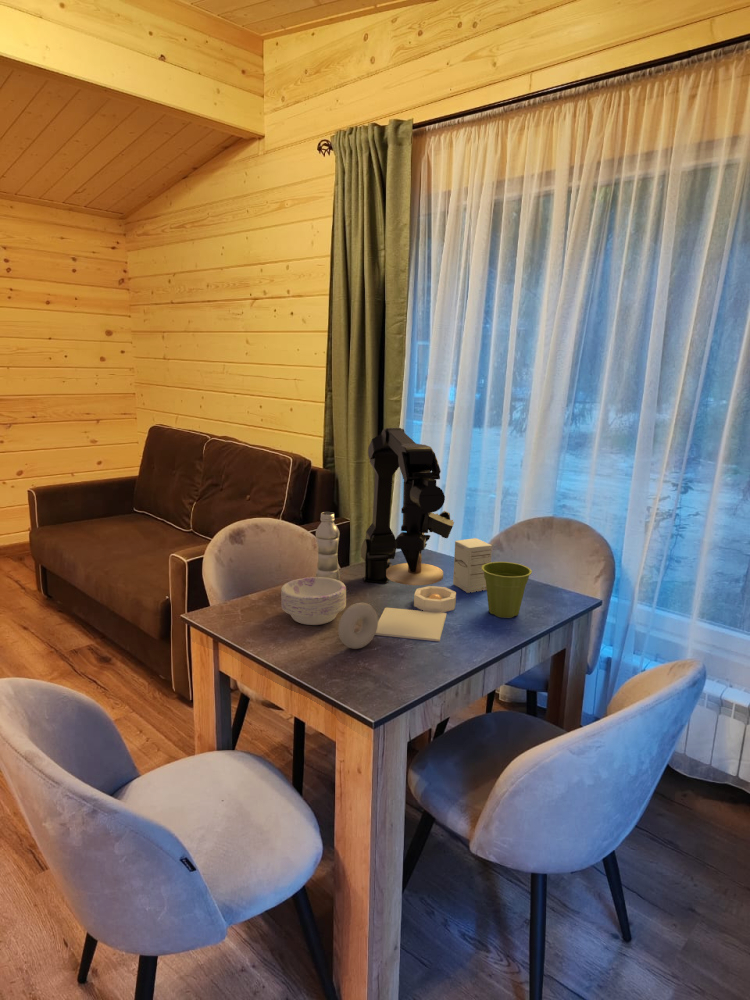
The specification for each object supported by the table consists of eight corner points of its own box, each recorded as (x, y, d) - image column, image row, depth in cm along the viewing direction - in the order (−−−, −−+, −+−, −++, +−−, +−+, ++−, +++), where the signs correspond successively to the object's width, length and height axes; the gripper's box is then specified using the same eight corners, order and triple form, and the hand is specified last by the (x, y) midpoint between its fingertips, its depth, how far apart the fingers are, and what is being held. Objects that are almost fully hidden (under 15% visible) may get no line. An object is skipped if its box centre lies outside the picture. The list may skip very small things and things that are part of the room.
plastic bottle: (341, 581, 175) (341, 510, 171) (337, 590, 169) (337, 517, 164) (318, 580, 176) (317, 510, 172) (313, 588, 169) (313, 516, 165)
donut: (370, 638, 140) (371, 595, 138) (381, 643, 137) (381, 600, 135) (334, 651, 134) (334, 606, 131) (345, 657, 131) (345, 611, 129)
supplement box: (452, 584, 174) (454, 540, 171) (474, 581, 177) (477, 537, 174) (466, 593, 168) (469, 547, 165) (490, 589, 171) (492, 544, 168)
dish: (412, 613, 156) (412, 598, 155) (418, 598, 166) (418, 584, 165) (452, 617, 154) (453, 602, 153) (456, 602, 164) (457, 588, 163)
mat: (372, 634, 142) (372, 632, 142) (385, 609, 156) (385, 607, 156) (439, 641, 139) (439, 639, 139) (446, 615, 153) (446, 613, 153)
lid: (381, 582, 140) (381, 561, 139) (391, 565, 153) (391, 545, 152) (440, 587, 138) (440, 565, 137) (445, 569, 150) (446, 548, 149)
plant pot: (538, 619, 151) (541, 574, 149) (492, 624, 148) (495, 578, 146) (513, 601, 162) (516, 559, 160) (471, 606, 159) (473, 563, 157)
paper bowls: (307, 601, 161) (307, 571, 159) (358, 613, 153) (358, 582, 152) (268, 621, 148) (267, 589, 146) (321, 636, 141) (321, 602, 139)
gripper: (448, 513, 131) (445, 585, 135) (455, 496, 149) (453, 560, 152) (395, 510, 133) (394, 581, 137) (408, 493, 151) (407, 556, 155)
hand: (414, 569), depth 145 cm, fingers closed on lid, 3 cm apart
